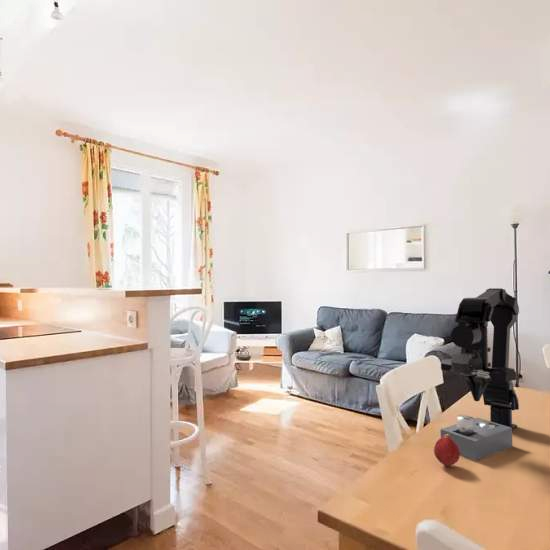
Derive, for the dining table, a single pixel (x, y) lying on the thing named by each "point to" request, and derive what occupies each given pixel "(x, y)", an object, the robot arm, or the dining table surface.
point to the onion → (446, 451)
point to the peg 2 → (487, 425)
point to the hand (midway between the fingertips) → (476, 400)
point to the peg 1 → (465, 425)
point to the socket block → (480, 439)
